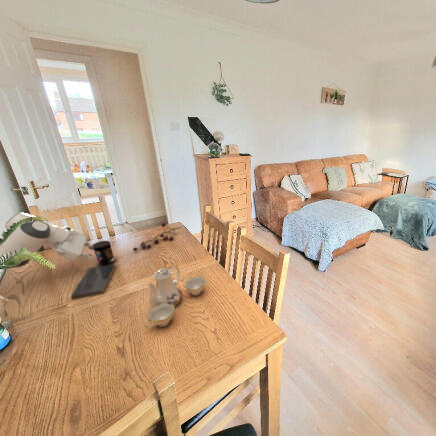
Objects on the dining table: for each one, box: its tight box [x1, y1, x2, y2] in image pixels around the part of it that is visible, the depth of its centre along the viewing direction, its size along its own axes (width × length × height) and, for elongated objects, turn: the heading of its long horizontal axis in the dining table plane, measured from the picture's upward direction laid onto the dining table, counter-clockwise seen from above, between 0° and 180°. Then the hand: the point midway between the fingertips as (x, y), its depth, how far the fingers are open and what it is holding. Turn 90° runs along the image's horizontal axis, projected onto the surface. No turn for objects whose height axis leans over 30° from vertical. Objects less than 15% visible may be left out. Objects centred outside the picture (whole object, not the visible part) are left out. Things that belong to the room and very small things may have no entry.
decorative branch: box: [132, 222, 182, 252], centre depth 138 cm, size 11×9×30 cm
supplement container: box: [92, 240, 116, 266], centre depth 115 cm, size 7×7×10 cm
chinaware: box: [144, 266, 207, 329], centre depth 91 cm, size 28×17×17 cm, turn 167°
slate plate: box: [71, 263, 116, 300], centre depth 104 cm, size 10×20×2 cm, turn 22°
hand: (92, 252), depth 113 cm, fingers open, 8 cm apart
